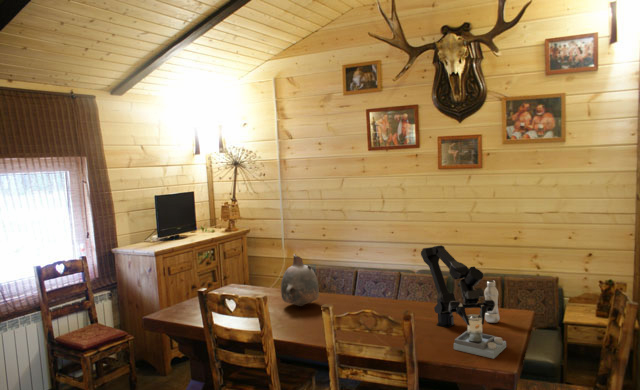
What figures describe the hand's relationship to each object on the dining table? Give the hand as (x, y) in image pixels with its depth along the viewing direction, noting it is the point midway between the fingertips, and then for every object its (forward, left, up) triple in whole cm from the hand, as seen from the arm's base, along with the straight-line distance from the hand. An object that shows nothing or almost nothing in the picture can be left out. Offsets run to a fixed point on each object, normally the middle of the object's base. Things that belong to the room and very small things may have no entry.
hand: (475, 324), depth 200 cm
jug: (-104, +3, -10) cm, 105 cm away
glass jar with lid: (0, 0, -7) cm, 7 cm away
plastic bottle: (-6, +34, -11) cm, 36 cm away
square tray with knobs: (+1, +1, -10) cm, 10 cm away
